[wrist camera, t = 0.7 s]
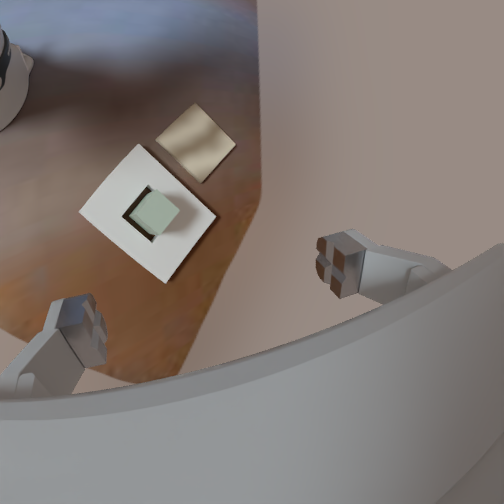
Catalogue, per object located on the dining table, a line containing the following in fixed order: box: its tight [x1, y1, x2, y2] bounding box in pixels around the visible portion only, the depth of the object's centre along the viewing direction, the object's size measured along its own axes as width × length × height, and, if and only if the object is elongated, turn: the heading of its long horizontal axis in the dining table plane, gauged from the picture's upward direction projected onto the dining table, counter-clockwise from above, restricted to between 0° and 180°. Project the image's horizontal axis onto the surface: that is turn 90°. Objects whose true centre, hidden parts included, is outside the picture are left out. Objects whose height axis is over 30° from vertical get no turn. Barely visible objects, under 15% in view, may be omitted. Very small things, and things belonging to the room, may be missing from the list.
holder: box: [79, 144, 216, 284], centre depth 43 cm, size 18×14×2 cm
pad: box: [156, 103, 236, 183], centre depth 47 cm, size 11×10×1 cm
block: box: [129, 189, 180, 236], centre depth 41 cm, size 4×4×8 cm
